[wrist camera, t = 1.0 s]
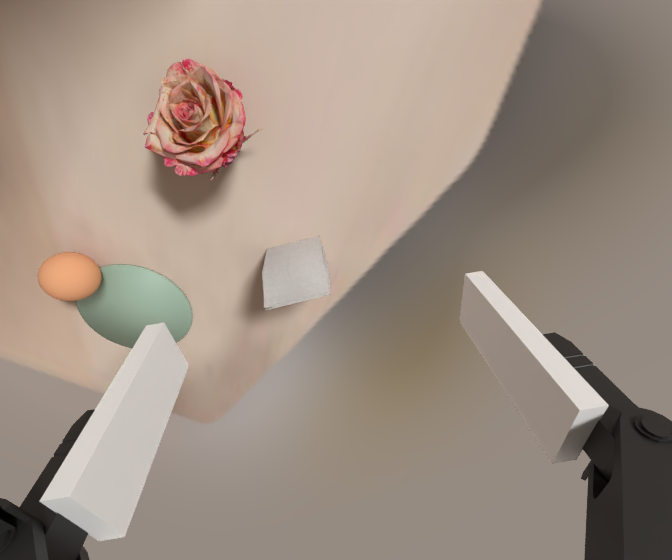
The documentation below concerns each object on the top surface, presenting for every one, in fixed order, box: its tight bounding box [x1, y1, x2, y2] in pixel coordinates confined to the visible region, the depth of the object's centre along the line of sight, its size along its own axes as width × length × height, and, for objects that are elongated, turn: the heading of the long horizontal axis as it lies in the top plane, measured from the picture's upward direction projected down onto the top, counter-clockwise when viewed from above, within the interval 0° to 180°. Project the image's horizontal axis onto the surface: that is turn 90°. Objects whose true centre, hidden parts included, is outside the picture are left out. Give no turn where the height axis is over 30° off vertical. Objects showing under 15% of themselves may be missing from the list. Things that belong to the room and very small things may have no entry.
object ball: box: [38, 252, 102, 301], centre depth 35 cm, size 6×6×6 cm
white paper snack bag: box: [262, 236, 330, 311], centre depth 36 cm, size 4×7×10 cm, turn 103°
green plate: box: [76, 264, 192, 348], centre depth 42 cm, size 14×14×1 cm
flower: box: [143, 59, 263, 180], centre depth 28 cm, size 10×9×8 cm
